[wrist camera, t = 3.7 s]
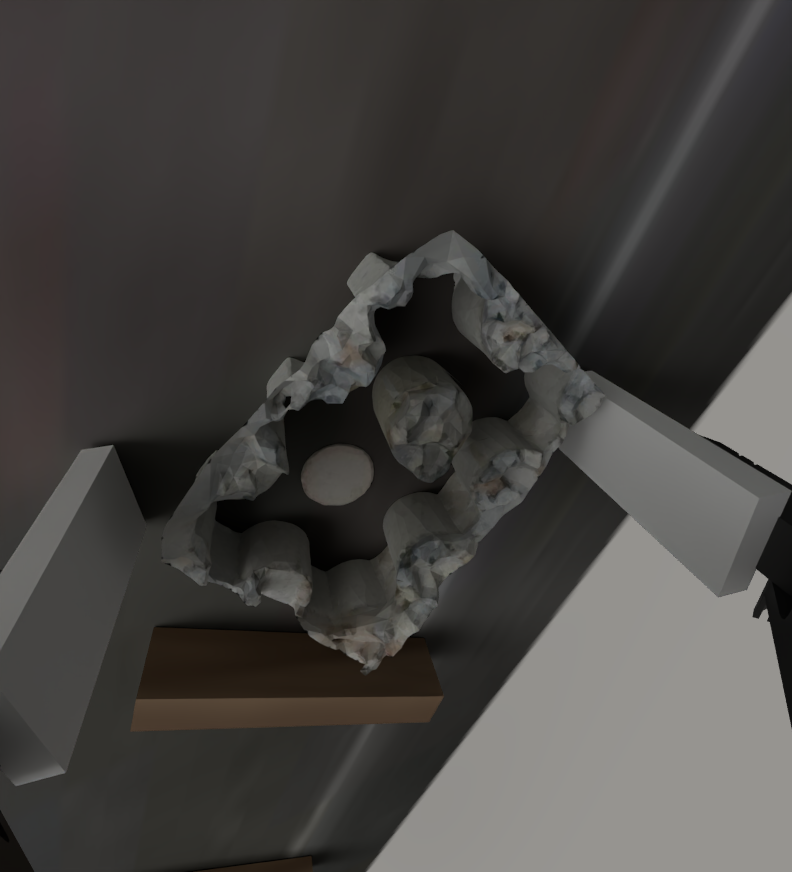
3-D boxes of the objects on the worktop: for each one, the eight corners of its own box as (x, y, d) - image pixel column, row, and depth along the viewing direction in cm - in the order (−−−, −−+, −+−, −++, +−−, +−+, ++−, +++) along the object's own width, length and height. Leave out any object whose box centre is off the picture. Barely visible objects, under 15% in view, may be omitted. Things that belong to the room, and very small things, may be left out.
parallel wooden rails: (154, 627, 16) (136, 699, 13) (424, 637, 19) (443, 696, 17) (103, 898, 23) (87, 972, 21) (304, 869, 27) (307, 929, 24)
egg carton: (343, 586, 17) (362, 692, 14) (149, 486, 13) (107, 597, 10) (568, 376, 15) (659, 440, 11) (409, 187, 11) (471, 196, 8)
